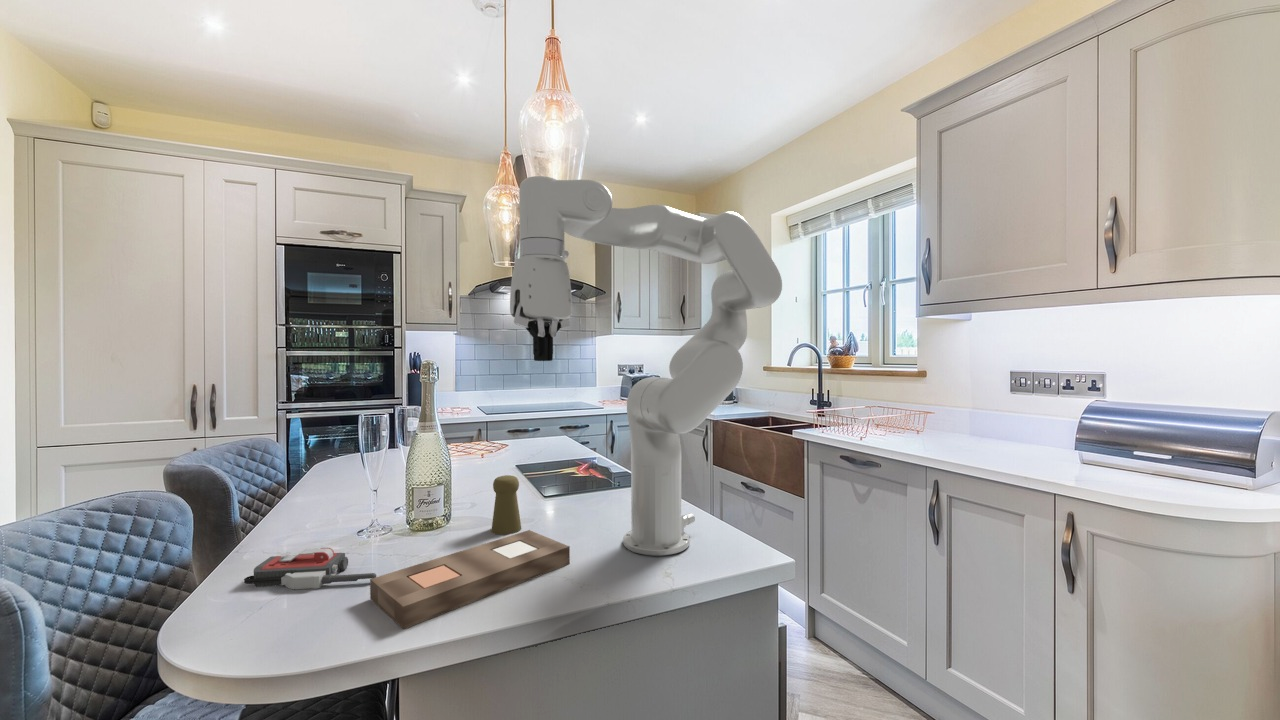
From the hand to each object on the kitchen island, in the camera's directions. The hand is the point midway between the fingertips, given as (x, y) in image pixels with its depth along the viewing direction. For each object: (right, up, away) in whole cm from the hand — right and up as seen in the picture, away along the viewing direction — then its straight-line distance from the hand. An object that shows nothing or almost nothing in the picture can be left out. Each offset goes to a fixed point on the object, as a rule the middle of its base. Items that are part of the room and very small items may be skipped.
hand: (543, 360), depth 87 cm
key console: (-10, -35, -5) cm, 37 cm away
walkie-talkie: (-36, -36, -4) cm, 51 cm away
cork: (-11, -35, +18) cm, 41 cm away
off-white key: (-5, -35, 0) cm, 35 cm away
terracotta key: (-14, -35, -10) cm, 39 cm away
